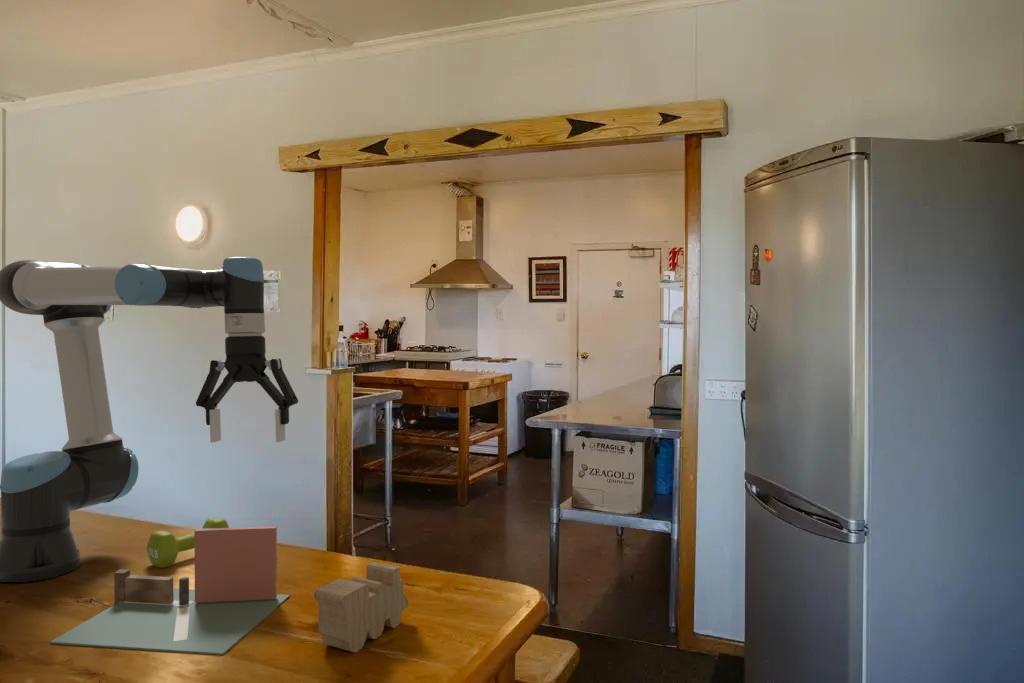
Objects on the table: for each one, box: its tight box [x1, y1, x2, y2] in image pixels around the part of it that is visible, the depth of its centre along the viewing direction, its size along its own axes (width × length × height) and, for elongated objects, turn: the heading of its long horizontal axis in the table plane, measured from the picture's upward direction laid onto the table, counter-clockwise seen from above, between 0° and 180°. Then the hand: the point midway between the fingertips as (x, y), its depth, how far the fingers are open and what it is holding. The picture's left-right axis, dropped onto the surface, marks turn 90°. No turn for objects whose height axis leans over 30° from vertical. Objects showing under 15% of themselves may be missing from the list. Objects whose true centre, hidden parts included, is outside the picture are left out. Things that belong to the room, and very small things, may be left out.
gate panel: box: [193, 525, 278, 603], centre depth 128 cm, size 14×1×13 cm, turn 98°
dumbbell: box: [146, 516, 230, 569], centre depth 152 cm, size 16×8×7 cm, turn 146°
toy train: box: [313, 561, 409, 653], centre depth 114 cm, size 6×17×10 cm, turn 152°
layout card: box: [49, 587, 291, 656], centre depth 121 cm, size 29×24×1 cm
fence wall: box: [113, 569, 190, 605], centre depth 127 cm, size 14×2×6 cm, turn 83°
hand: (248, 441), depth 141 cm, fingers open, 13 cm apart
